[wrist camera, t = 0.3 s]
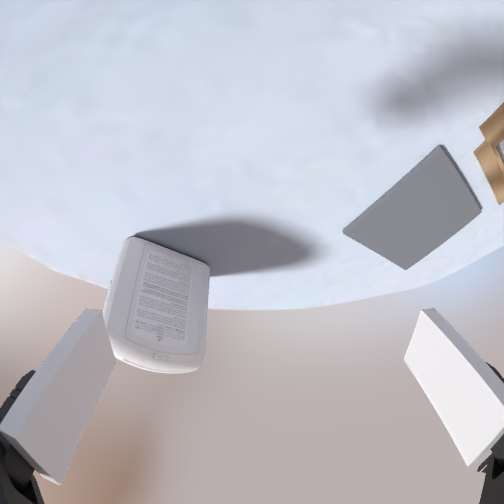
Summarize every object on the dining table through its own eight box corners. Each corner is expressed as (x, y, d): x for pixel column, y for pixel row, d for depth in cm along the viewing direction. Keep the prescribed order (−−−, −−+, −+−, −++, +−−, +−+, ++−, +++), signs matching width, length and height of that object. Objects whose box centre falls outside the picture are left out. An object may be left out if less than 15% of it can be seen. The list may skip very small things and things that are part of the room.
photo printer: (117, 252, 29) (92, 360, 21) (126, 229, 26) (96, 348, 18) (199, 281, 34) (193, 383, 26) (216, 262, 31) (213, 375, 23)
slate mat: (342, 230, 28) (343, 233, 27) (438, 145, 19) (441, 148, 19) (404, 267, 33) (405, 270, 33) (479, 209, 25) (481, 211, 25)
